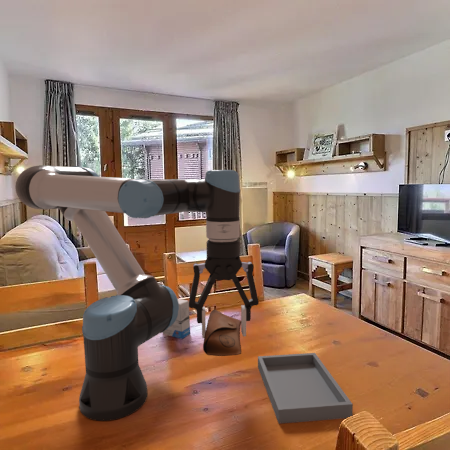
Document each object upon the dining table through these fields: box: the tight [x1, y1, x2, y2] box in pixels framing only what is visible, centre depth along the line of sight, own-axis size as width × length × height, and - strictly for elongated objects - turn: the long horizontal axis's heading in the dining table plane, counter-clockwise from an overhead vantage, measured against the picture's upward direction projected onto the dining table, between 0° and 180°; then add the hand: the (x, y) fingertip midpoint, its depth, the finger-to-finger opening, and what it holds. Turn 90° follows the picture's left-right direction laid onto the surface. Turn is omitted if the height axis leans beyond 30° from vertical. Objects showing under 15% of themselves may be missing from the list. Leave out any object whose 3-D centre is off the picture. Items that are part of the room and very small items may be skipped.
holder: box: [257, 352, 354, 424], centre depth 86 cm, size 16×23×3 cm
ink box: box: [162, 297, 191, 340], centre depth 118 cm, size 9×5×12 cm, turn 58°
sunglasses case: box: [202, 309, 242, 357], centre depth 83 cm, size 18×7×7 cm, turn 179°
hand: (223, 334), depth 83 cm, fingers closed on sunglasses case, 9 cm apart
